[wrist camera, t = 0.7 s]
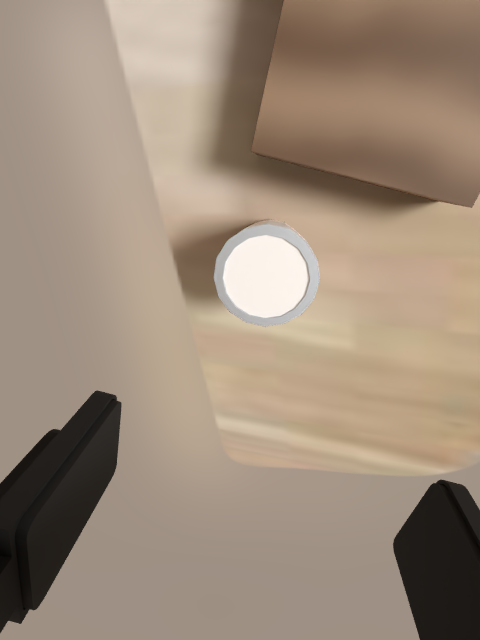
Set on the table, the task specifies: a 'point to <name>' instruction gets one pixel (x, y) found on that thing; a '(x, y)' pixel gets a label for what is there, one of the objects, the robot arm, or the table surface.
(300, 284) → the shot glass
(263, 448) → the table surface
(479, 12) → the walnut block
